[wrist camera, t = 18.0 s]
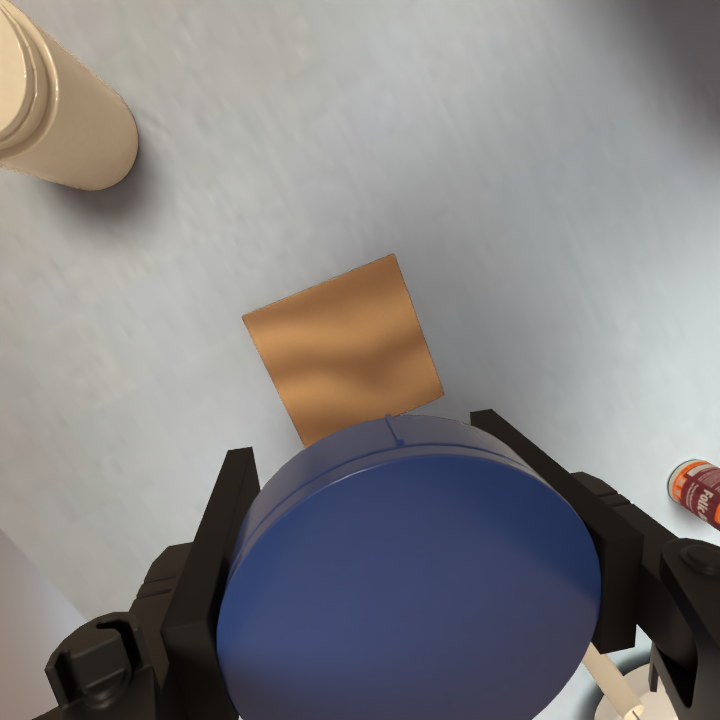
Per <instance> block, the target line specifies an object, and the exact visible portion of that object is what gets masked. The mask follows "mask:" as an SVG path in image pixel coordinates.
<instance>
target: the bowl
mask: <svg viewBox="0 0 720 720" xmlns="http://www.w3.org/2000/svg"><path fill="white" fill-rule="evenodd" d="M649 667H650V663H649V664H646V665H643V666H641V667H639V668H637V669H635V670H633V671H631V672H629V673H628V674H626V675H625V676H623V677H624V678H625V680H626V681H627V683H628V684H629V685H630V687H631V688H632V690H633V691H634V693H635V694H636V695H637V697H638V698H639V700H640V701H641V703H642V704H643V706H644V711H643V712H642V714H641V715H640V716H639V717H638V718H639V719H640V720H678V717H677V715H676V713H675V711H674V708H673V706H672V704H671V701H670V699H669V697H668V695H667V694H666V692H665V691H666V690H665V688H664V686H663V683H662V681H661V679H660V677H659V676H658V685H657V693H656V692H650V688H649V682H648V677H649ZM594 720H623V719H622V717H621V716H620V715H619V713H618V712H617V711H616V709H615V708H614V706H613V705H612V704H611V702H610V701H609V700H608V698H607V697H606V696H605V695H604V696H603V698H602V700H601V701H600V703H599V705H598V707H597V710H596V713H595V717H594ZM635 720H637V718H636V719H635Z"/></svg>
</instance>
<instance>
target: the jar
mask: <svg viewBox="0 0 720 720" xmlns="http://www.w3.org/2000/svg"><path fill="white" fill-rule="evenodd" d="M137 151H138V134H137V128H136V125H135V121H134V119H133V116H132V114H131V112H130V110H129V108H128V107H127V105H126V104H125V102H124V101H123V99H122V98H121V97H120V96H119V95H118V94H117V93H116V92H115V91H114V90H113V89H112V88H111V87H110V86H109V85H107V84H106V83H105V82H104V81H103V80H102V79H100V78H99V77H98V76H97V75H96V74H95V73H93V72H92V71H91V70H90V69H89V68H88V67H86V66H85V65H84V64H83V63H82V62H81V61H79V60H78V59H77V58H76V57H75V56H74V55H72V54H71V53H70V52H69V51H68V50H66V49H65V48H64V47H63V46H62V45H61V44H59V43H58V42H57V41H56V40H55V39H54V38H52V37H51V36H50V35H49V34H48V33H47V32H45V31H44V30H43V29H42V28H41V27H40V26H38V25H37V24H36V23H35V22H34V21H32V20H31V19H30V18H29V17H28V16H27V15H25V14H24V13H23V12H22V11H21V10H20V9H18V8H17V7H16V6H15V5H14V4H12V3H11V2H10V1H8V0H0V168H3V169H7V170H11V171H14V172H18V173H21V174H25V175H28V176H32V177H36V178H39V179H43V180H46V181H50V182H54V183H57V184H61V185H64V186H68V187H71V188H75V189H80V190H88V191H90V190H101V189H105V188H108V187H111V186H113V185H115V184H116V183H118V182H119V181H121V180H122V179H123V178H124V177H125V176H126V175H127V174H128V172H129V171H130V170H131V168H132V166H133V164H134V161H135V159H136V155H137Z"/></svg>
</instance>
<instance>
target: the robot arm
mask: <svg viewBox="0 0 720 720" xmlns="http://www.w3.org/2000/svg"><path fill="white" fill-rule="evenodd" d="M470 418H471V426H474V427H476V428H478V429H480V430H483V431H485V432H487V433H489V434H491V435H493V436H494V437H496V438H497V439H499V440H500V441H502V442H503V443H505V444H506V445H507V446H509V447H510V448H511V449H512V450H513V451H514V452H515V453H516V454H518V455H519V456H520V457H521V458H522V459H523V460H524V461H525V462H526V463H527V464H528V465H529V466H530V467H531V468H532V469H533V470H534V471H536V472H537V473H538V474H539V475H540V476H541V477H542V478H543V479H544V480H545V481H546V482H547V483H548V484H549V485H550V486H551V487H552V488H553V489H554V490H556V491H557V492H558V493H559V494H560V495H561V496H562V497H563V498H564V499H565V500H566V501H567V502H568V503H569V504H570V505H571V506H572V508H573V509H574V510H575V511H576V513H577V514H578V515H579V517H580V518H581V519H582V521H583V523H584V524H585V526H586V528H587V530H588V532H589V534H590V536H591V538H592V540H593V543H594V546H595V550H596V553H597V556H598V559H599V565H600V571H601V599H600V610H599V618H598V621H597V625H596V628H595V631H594V635H593V638H592V640H591V643H592V644H593V645H594V647H595V648H596V649H597V651H598V652H599V653H600V655H602V654H606V653H611V652H615V651H619V650H624V649H628V648H633V647H635V636H636V625H637V624H638V626H639V627H640V628H641V629H642V630H643V631H644V632H645V633H646V634H647V635H648V637H649V638H650V639H651V640H652V647H651V657H650V667H649V677H648V682H649V688H650V692H656V693H657V685H658V676H659V677H660V679H661V681H662V683H663V686H664V688H665V690H666V691H665V692H666V694H667V695H668V697H669V699H670V701H671V704H672V706H673V708H674V711H675V713H676V715H677V717H678V720H720V547H719V546H716V545H714V544H711V543H708V542H705V541H701V540H695V539H689V538H678V537H677V536H675V535H674V534H673V533H671V532H670V531H669V530H667V529H666V528H665V527H663V526H662V525H661V524H659V523H658V522H657V521H655V520H654V519H653V518H651V517H650V516H649V515H648V514H646V513H645V512H644V511H642V510H641V509H640V508H638V507H637V506H636V505H634V504H631V503H630V501H629V500H628V499H626V498H625V497H624V496H622V495H621V494H618V492H617V491H616V490H614V489H613V488H612V487H611V486H609V485H608V484H607V483H605V482H604V481H603V480H601V479H598V478H596V477H594V476H591V475H589V474H587V473H584V472H576V473H571V474H570V473H569V472H567V471H566V470H565V469H564V468H563V467H561V466H560V465H559V464H558V463H556V462H555V461H554V460H553V459H552V458H550V457H549V456H548V455H547V454H546V453H544V452H543V451H542V450H541V449H539V448H538V447H537V446H536V445H535V444H533V443H532V442H531V441H530V440H529V439H527V438H526V437H525V436H524V435H522V434H521V433H520V432H519V431H518V430H516V429H515V428H514V427H513V426H512V425H510V424H509V423H508V422H507V421H505V420H504V419H503V418H502V417H501V416H499V415H498V414H497V413H496V412H495V411H493V410H492V409H488V410H482V411H476V412H470ZM260 491H261V490H260V485H259V480H258V475H257V470H256V464H255V459H254V454H253V449H252V447H247V448H240V449H234V450H228V452H227V455H226V457H225V460H224V462H223V465H222V468H221V470H220V473H219V476H218V478H217V481H216V483H215V486H214V489H213V491H212V494H211V497H210V499H209V502H208V504H207V507H206V510H205V512H204V515H203V518H202V520H201V523H200V525H199V528H198V531H197V533H196V536H195V539H194V541H193V542H190V543H184V544H178V545H173V546H168V547H167V548H166V549H165V550H164V551H163V552H162V553H161V554H160V556H159V557H158V558H157V559H156V560H155V561H154V562H153V563H152V565H151V567H150V569H149V571H148V573H147V575H146V577H145V579H144V584H142V585H141V587H140V589H139V591H138V594H137V598H136V599H135V600H134V602H133V604H132V606H131V608H130V610H129V612H113V613H109V614H106V615H103V616H100V617H97V618H95V619H93V620H91V621H90V622H88V623H86V624H84V625H82V626H80V627H79V628H78V629H77V630H75V631H74V632H73V633H72V634H70V635H69V636H68V637H67V638H65V639H64V640H63V641H62V643H61V644H60V645H59V646H58V648H57V649H56V650H55V651H54V652H53V653H52V655H51V656H50V659H49V661H48V663H47V665H46V668H45V673H46V675H47V678H48V680H49V683H50V685H51V687H52V690H53V692H54V695H55V697H56V700H57V702H58V704H59V706H58V707H56V708H54V709H52V710H50V711H49V712H47V713H45V714H43V715H40V716H38V717H37V718H34V719H32V720H238V719H239V714H238V713H237V711H236V710H235V708H234V706H233V704H232V702H231V701H230V699H229V697H228V694H227V690H226V687H225V683H224V679H223V676H222V672H221V668H220V664H219V659H218V655H217V651H216V631H217V623H218V618H219V613H220V607H221V603H222V598H223V594H224V590H225V586H226V581H227V577H228V573H229V569H230V564H231V560H232V556H233V552H234V547H235V543H236V539H237V536H238V534H239V531H240V528H241V525H242V522H243V520H244V518H245V516H246V514H247V512H248V510H249V508H250V507H251V505H252V503H253V501H254V500H255V498H256V497H257V496H258V494H259V493H260Z"/></svg>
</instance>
